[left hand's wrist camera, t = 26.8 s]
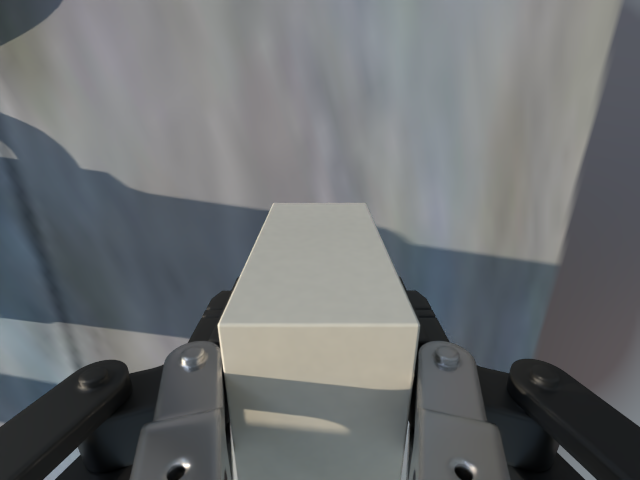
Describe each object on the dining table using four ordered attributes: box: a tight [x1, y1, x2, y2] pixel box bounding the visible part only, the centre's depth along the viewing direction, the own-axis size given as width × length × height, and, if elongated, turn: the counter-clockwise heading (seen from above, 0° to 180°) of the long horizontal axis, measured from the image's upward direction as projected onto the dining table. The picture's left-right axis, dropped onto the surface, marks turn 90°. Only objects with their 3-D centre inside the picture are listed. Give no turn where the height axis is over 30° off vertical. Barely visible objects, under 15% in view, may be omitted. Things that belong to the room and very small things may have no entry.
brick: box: [218, 203, 420, 480], centre depth 12 cm, size 4×5×9 cm
